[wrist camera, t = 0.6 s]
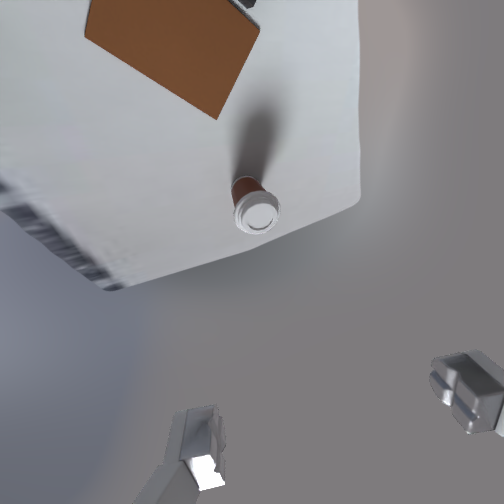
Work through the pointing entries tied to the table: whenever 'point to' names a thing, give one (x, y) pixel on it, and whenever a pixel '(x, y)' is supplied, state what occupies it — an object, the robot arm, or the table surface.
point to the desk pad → (177, 44)
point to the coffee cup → (254, 206)
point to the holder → (247, 3)
